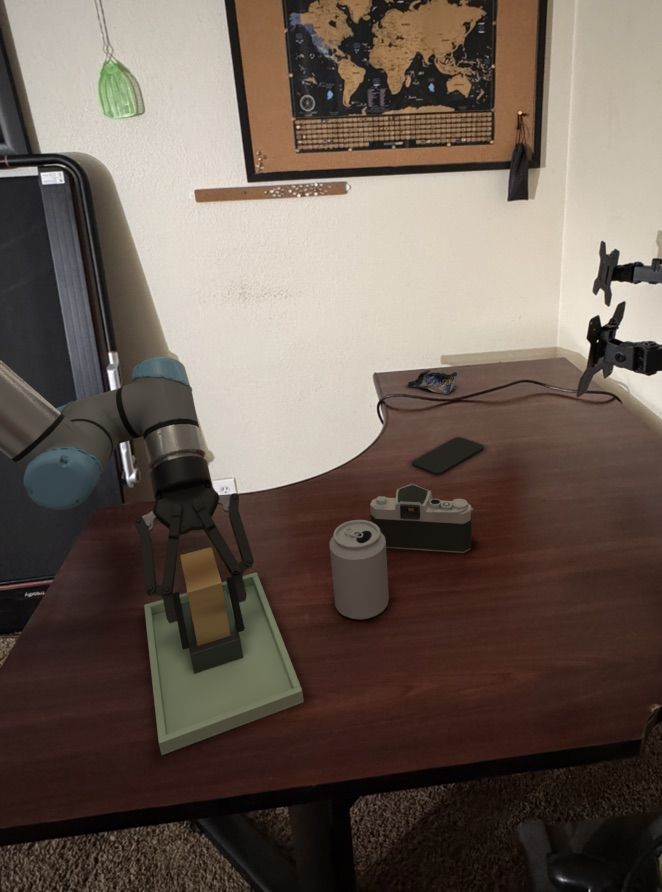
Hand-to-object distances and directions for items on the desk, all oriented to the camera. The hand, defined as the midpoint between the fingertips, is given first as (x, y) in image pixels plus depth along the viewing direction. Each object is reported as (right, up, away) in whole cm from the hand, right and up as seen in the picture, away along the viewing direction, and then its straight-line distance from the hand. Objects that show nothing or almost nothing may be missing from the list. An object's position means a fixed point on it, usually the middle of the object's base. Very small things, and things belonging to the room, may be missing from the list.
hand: (213, 638), depth 77 cm
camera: (+27, +6, +24) cm, 37 cm away
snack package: (+34, +30, +85) cm, 96 cm away
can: (+18, 0, +10) cm, 20 cm away
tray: (0, -3, +2) cm, 4 cm away
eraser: (-1, -2, +4) cm, 5 cm away
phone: (+34, +16, +49) cm, 62 cm away
